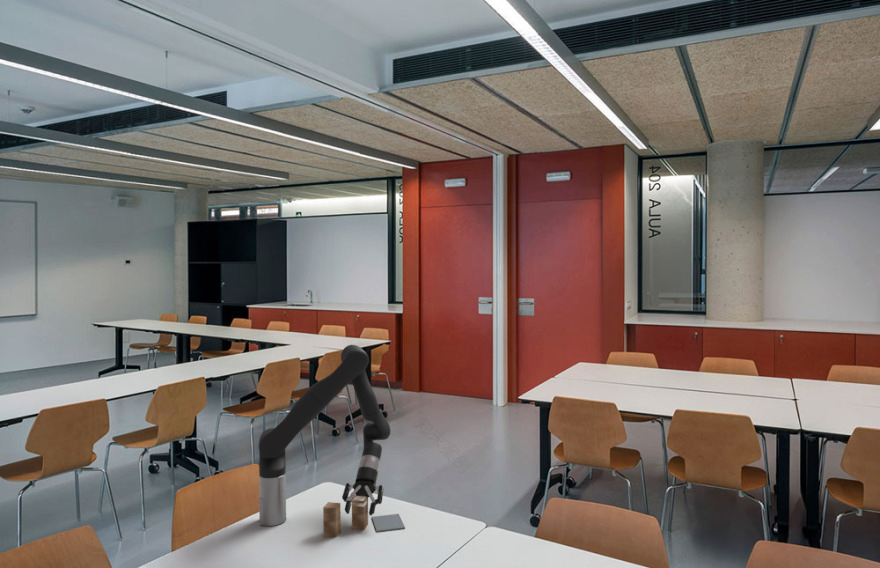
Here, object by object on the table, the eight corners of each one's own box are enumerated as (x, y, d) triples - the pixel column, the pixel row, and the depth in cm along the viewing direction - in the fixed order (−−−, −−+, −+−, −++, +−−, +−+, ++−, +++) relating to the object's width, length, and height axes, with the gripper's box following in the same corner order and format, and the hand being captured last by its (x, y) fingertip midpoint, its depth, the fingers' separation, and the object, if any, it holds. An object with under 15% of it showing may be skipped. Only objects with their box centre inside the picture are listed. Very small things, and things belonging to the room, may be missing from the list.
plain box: (323, 536, 198) (323, 507, 198) (328, 530, 202) (328, 502, 202) (336, 537, 197) (335, 508, 197) (340, 531, 201) (340, 503, 201)
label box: (351, 529, 203) (351, 500, 203) (356, 523, 208) (355, 495, 208) (364, 530, 202) (364, 501, 202) (368, 524, 207) (368, 496, 207)
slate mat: (376, 532, 201) (376, 530, 200) (371, 518, 212) (371, 516, 212) (405, 528, 203) (405, 527, 203) (398, 515, 215) (398, 513, 215)
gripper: (347, 464, 213) (336, 508, 202) (384, 466, 211) (376, 510, 200) (352, 474, 219) (342, 516, 208) (388, 476, 216) (380, 519, 205)
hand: (358, 513), depth 204 cm, fingers open, 8 cm apart
